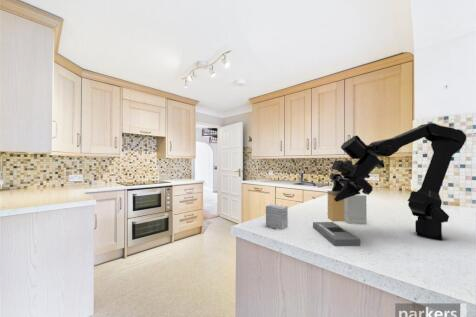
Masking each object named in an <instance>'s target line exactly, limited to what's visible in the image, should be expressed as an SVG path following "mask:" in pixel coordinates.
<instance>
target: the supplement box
mask: <svg viewBox="0 0 476 317" xmlns="http://www.w3.org/2000/svg"><path fill="white" fill-rule="evenodd" d="M367 213H368V212H367V194H364V193H361V194H357V195H354V196H351V197H348V198H345V199H344V222H346V223H347V224H349V225H350V224H351V225H353V224H354V225H367V223H368V220H367V216H368V215H367Z"/></svg>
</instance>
